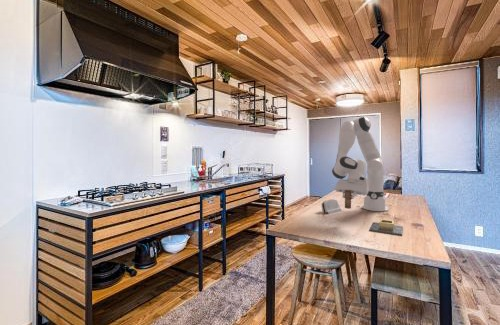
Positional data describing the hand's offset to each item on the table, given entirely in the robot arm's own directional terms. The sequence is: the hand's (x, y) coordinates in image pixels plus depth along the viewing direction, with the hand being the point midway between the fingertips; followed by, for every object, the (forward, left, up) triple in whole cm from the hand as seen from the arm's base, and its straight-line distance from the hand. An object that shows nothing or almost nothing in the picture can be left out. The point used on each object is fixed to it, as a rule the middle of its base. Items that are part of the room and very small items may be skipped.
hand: (347, 197), depth 160 cm
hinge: (-27, -17, -17) cm, 36 cm away
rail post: (-1, 0, -6) cm, 6 cm away
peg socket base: (-1, +22, -16) cm, 27 cm away
